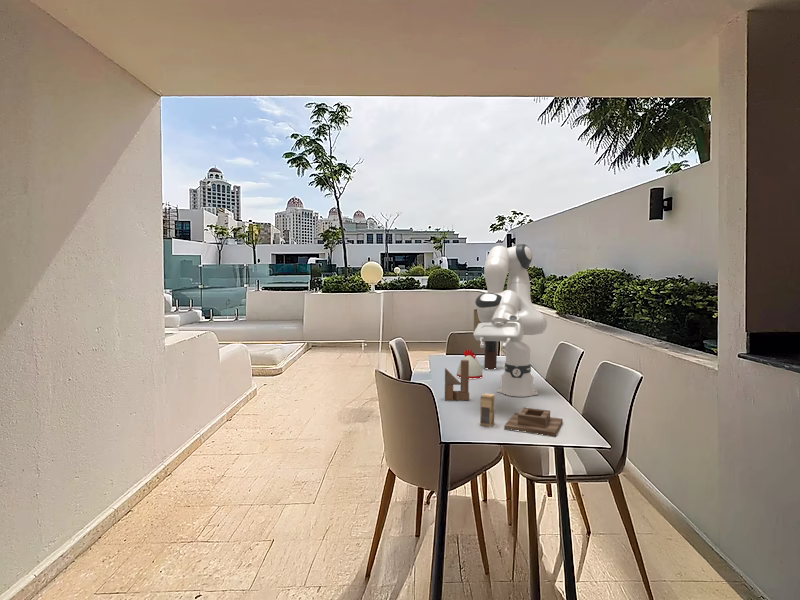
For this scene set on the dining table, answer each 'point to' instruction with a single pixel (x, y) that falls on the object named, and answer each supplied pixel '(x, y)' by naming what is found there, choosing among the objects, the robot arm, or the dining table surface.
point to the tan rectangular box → (487, 409)
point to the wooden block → (457, 383)
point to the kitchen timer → (471, 365)
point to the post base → (534, 422)
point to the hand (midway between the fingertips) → (492, 347)
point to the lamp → (487, 348)
